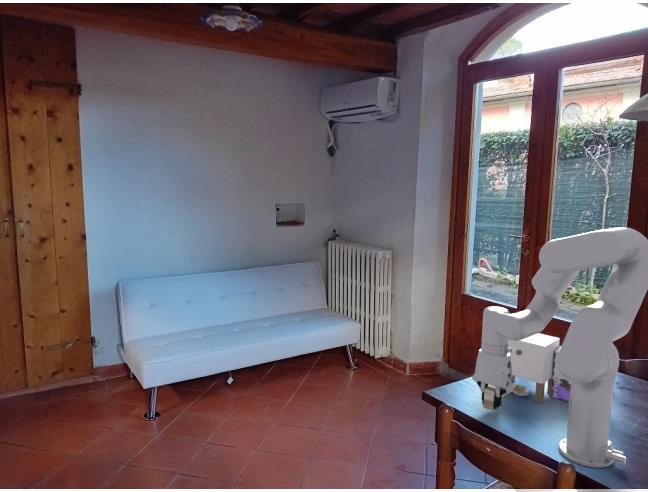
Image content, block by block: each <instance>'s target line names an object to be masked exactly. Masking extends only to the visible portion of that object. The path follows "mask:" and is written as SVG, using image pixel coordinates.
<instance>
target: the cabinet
mask: <svg viewBox="0 0 648 492" xmlns="http://www.w3.org/2000/svg"><path fill="white" fill-rule="evenodd" d="M508 344H509V348H512V352H511V353H509V354H510V356H511V362H512V382H514V381H515V380H516V377H518V378H521V379H525V380H527V381H531V382H533V383H535V394H534V402H536V403H539V404H543V402H544V399H545V384H546V382H547V390H546V393H549V394H551V390H552V378H553V367H554V355H555V350H556V349H557V348H559V347H560V337H557V336H552V335H547V334H544V333H540V332H539V333H538V334H536V335H533V336H530V337H528V338H525V339H522V340H519V341H513V340H510V339H508ZM495 387H496V386H495Z"/></svg>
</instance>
